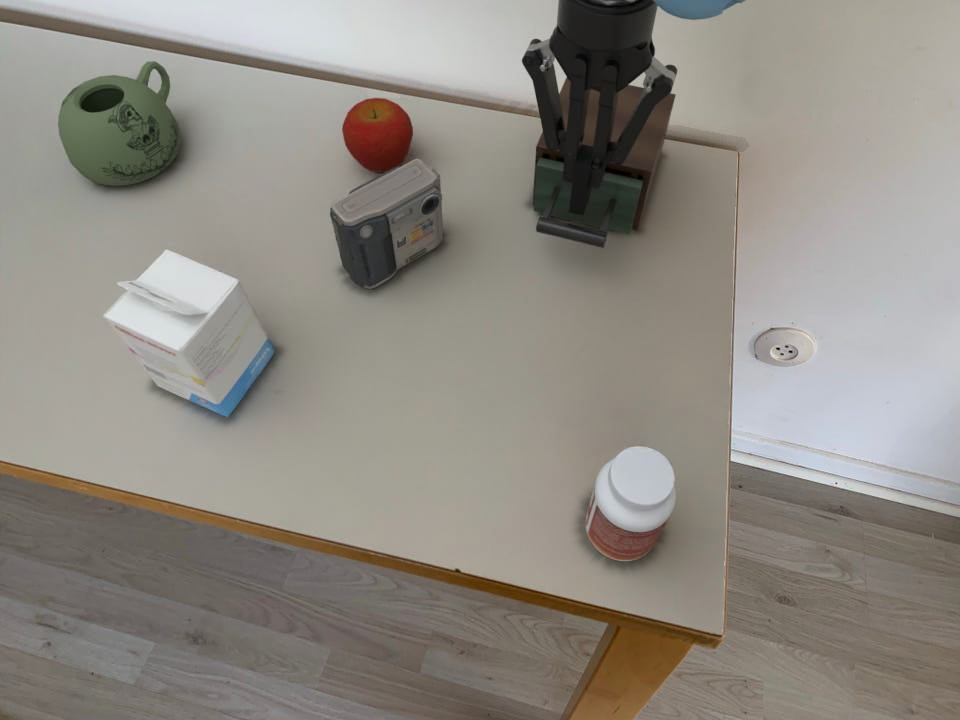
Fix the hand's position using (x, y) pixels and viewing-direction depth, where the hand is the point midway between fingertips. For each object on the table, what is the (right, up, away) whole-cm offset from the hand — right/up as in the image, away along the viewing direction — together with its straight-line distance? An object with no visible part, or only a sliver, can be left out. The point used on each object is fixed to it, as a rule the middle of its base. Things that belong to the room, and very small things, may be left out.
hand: (579, 204), depth 74 cm
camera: (-19, -5, +5) cm, 20 cm away
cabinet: (+4, +5, +11) cm, 12 cm away
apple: (-22, +8, +13) cm, 26 cm away
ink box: (-36, -17, -2) cm, 40 cm away
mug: (-51, +10, +15) cm, 54 cm away
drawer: (+2, +1, +7) cm, 7 cm away
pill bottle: (+2, -30, -12) cm, 32 cm away
